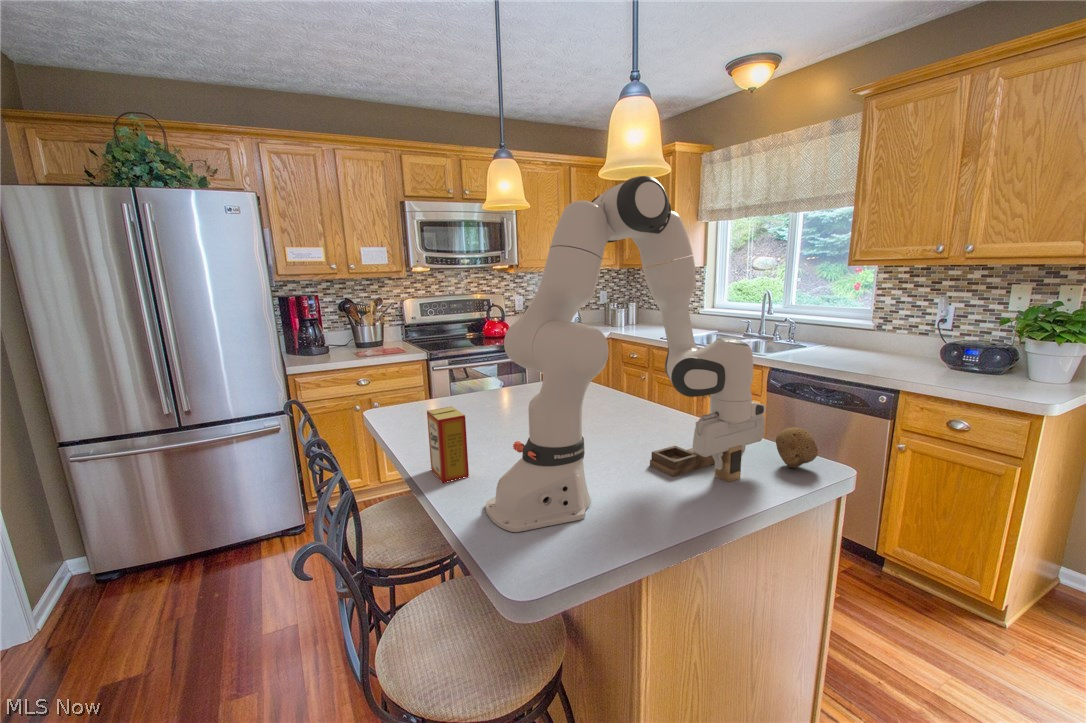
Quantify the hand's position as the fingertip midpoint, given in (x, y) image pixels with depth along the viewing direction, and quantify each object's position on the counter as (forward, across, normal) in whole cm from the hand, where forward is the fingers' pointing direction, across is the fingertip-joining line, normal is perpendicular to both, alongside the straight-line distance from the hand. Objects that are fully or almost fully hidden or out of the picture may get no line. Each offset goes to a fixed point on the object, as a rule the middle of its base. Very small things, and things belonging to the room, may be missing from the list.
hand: (727, 465), depth 114 cm
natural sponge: (+3, +18, -5) cm, 19 cm away
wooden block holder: (+3, -1, +11) cm, 11 cm away
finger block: (+3, 0, 0) cm, 3 cm away
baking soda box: (+3, -55, +38) cm, 67 cm away
